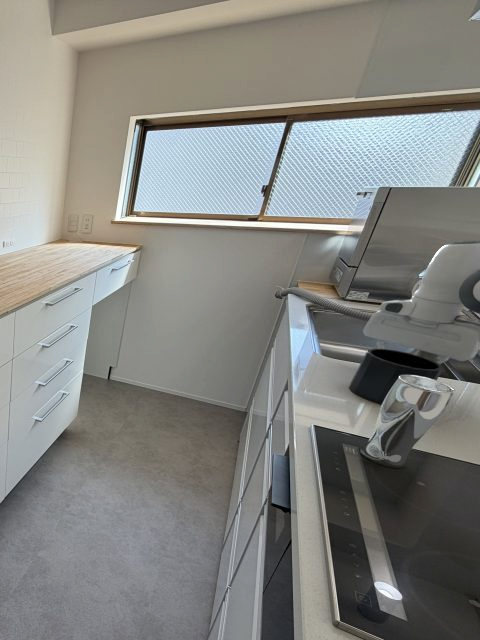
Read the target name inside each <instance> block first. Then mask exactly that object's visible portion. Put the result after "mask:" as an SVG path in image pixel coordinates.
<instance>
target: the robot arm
mask: <svg viewBox="0 0 480 640" xmlns="http://www.w3.org/2000/svg"><path fill="white" fill-rule="evenodd" d="M464 307H465V308H466V309H467V310H469V311H471V312H473V313H476V314H479V315H480V239H477V240H475V239H474V240H473V239H472V240H461V241H459V240H458V241H452V242H450V243H446V244H445V245H443V246H441V247H440V248H439V249H438V250H437V251H436V253H435V254H434V255H433V258H432V259H431V260H430V262H429V264H428V265H427V267H426V269H425V270H424V273H423V274H422V277H421V281H420V285H419V287H418V288H417V289H416V290H415V291H414V293H413V294H412V296H411V298H410V299H406V298H404V299H392V300H387V301H384V302H382V303H381V304H380V305H379V310H378V311H376V312H374V313H373V314H372V315H371V316H370V318H369V319H368V321H367V323H366V324H365V326H364V327H363V329H362V333H363V335H364V336H365V337H368V338H371V339H375V340H377V341H376V342H375V345H376V349H386V347H385V345H386V344H388V343H391V344H395V345H400V346H403V347H406V348H410V349H414V350H418V351H422V352H426V353H430V354H433V355H437V358H436V360H437V361H436V362H437V363H438V364H440V365H442V364H443V363H445V362H448V361H449V359H453V360H457V361H460V362H464V361H469V360H472V359H474V358H475V357H476V356H477V353H478V352H479V349H480V319H473V318H470V317H466V316H460V315H461V313H462V311H463V309H464Z"/></svg>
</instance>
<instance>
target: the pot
mask: <svg viewBox="0 0 480 640" xmlns="http://www.w3.org/2000/svg"><path fill="white" fill-rule="evenodd" d="M443 371H444V367H443V365H442V364H438V363H437V361H435V360H432V359H429V358H427V357H424V356H420V355H417V354H413V353H409V352H406V351H400V350H396V349H388V348H385V349H378V348H371V349H367V350H366V352H365V354H364V356H363V358H362V360H361V362H360V363H359V366H358V367H357V370H356V371H355V374H354V376H353V377H352V379H351V381H350V383H349V385H348V389H349V391H350V392H352V393H353V394H355V396H358V397H359V398H362V399H364V400H367V401H369V402H372V403H375V404H377V405H382V403H383V401H384V399H385V397H386V396H387V394H388V392H389V391H390V389H391V388H392V386H393V385H394V384H395V382H396V381H397V379H398V378H399V376H400V375H416V376H422V377H426V378H430V379H434V380H437V381H438V379H439V377H440V376H441V374H442V372H443Z"/></svg>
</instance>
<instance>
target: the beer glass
mask: <svg viewBox="0 0 480 640" xmlns="http://www.w3.org/2000/svg"><path fill="white" fill-rule="evenodd" d="M455 392H456V389H455V388H454V387H453V386H451V385H450V384H447V383H444V381H443V382H442V381H440V380H438V379H437V380H434V379H430V378H426V377H422V376H416V375H400V376H399V378H398V379H397V381H396V382H395V384H394V385H393V386H392V388H391V389H390V391H389V392H388V394H387V396H386V397H385V399H384V401H383V403H382V405H381V404H380V405H381V406H380V408H379V410H378V411H379V412H378V415H377V418H376V422H375V426H374V428H373V431H372V434H371V435H370V437H369V439H368V440H367V441H366V442H365V443H364V444H363V445H362V446H361V447H360V448H359V453H360V454H361V455H362V456H363V457H364V458H366V459H367V460H369V461H371V462H373V463H375V464H378V465H381V466H383V467H387V468H392V469H402V468H404V467H405V466H406V465H407V462H408V458H409V455H410V454H411V453H410V452H411V451H412V449H413V448H414V447H415V445H416V444H417V443H418V442H419V441H420V440H421V439H422V438H423V437H424V436H425V435H426V434H427V433H428V432H429V431H430V430H431V429H432V428H433V427H434V426H435V425H436V423H438V421H439V420H440V419H441V417H442V416H443V414H444V413H445V411H446V409H447V407H448V405H449V403H450V401H451V399H452V397H453V395H454V393H455Z"/></svg>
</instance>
